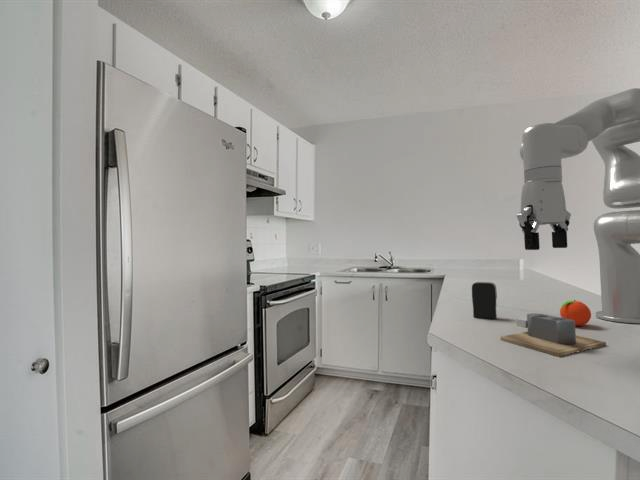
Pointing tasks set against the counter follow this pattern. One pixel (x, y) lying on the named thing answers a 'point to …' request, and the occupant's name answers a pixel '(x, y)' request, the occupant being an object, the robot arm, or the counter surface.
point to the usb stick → (549, 328)
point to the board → (553, 344)
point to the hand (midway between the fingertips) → (546, 248)
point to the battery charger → (484, 300)
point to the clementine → (576, 312)
